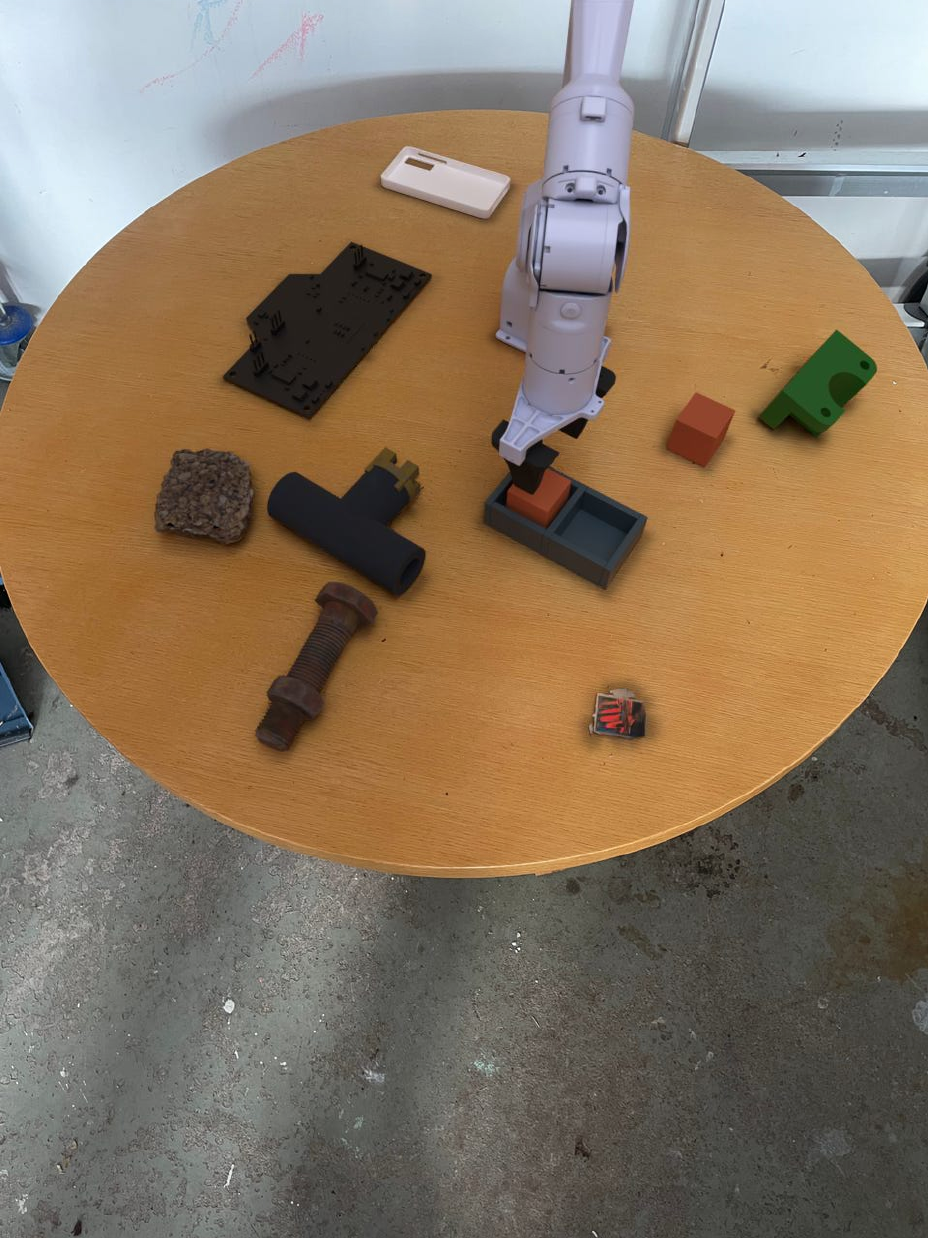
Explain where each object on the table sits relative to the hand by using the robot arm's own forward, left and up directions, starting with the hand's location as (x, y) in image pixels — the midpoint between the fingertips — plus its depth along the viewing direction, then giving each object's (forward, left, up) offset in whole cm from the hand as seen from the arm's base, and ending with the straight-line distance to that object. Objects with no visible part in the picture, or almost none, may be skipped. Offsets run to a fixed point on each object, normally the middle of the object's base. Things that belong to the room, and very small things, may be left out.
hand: (547, 459), depth 79 cm
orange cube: (0, -1, -8) cm, 8 cm away
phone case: (-36, +36, -8) cm, 52 cm away
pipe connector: (-13, -11, -8) cm, 19 cm away
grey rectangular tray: (+3, -1, -8) cm, 9 cm away
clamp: (+17, +27, -8) cm, 33 cm away
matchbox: (+17, -15, -8) cm, 24 cm away
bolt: (-7, -27, -8) cm, 29 cm away
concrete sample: (-27, -18, -8) cm, 33 cm away
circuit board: (-34, +8, -8) cm, 36 cm away
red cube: (+9, +16, -8) cm, 20 cm away
